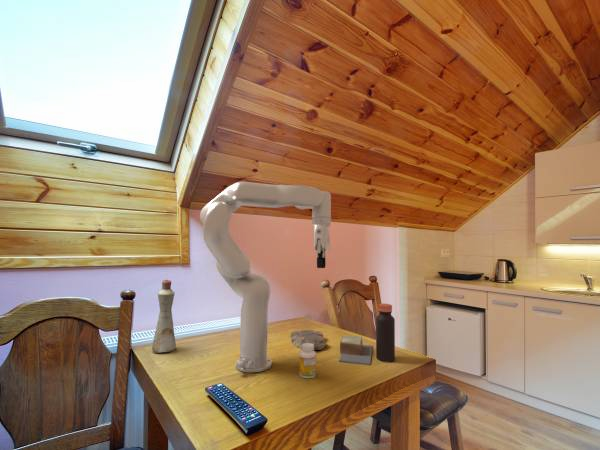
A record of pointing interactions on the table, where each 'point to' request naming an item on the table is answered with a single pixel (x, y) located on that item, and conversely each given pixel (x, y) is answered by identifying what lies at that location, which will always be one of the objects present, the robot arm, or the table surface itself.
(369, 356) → the mat
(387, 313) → the vinegar
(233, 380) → the table surface
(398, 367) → the table surface
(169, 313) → the bottle
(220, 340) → the table surface
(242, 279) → the robot arm
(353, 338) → the slab
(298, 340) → the grey rock
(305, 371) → the supplement bottle
